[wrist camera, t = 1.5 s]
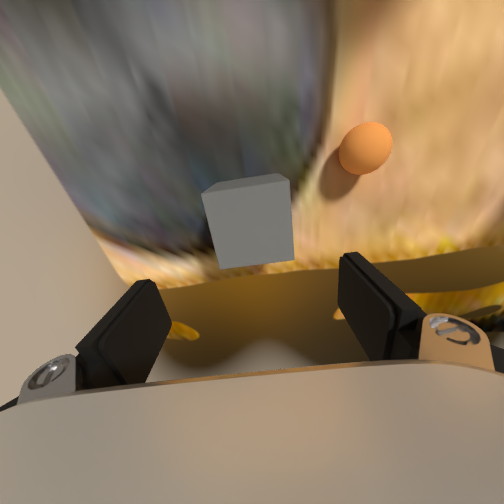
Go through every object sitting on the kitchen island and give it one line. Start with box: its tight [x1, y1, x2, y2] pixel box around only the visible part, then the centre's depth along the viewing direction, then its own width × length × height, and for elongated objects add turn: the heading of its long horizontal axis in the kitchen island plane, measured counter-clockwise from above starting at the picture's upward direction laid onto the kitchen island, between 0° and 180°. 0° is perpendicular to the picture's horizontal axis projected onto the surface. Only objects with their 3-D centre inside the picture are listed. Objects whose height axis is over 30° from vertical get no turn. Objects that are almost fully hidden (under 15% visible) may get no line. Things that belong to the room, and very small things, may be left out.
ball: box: [339, 122, 392, 175], centre depth 22 cm, size 5×5×5 cm
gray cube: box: [201, 173, 294, 269], centre depth 23 cm, size 8×8×9 cm
